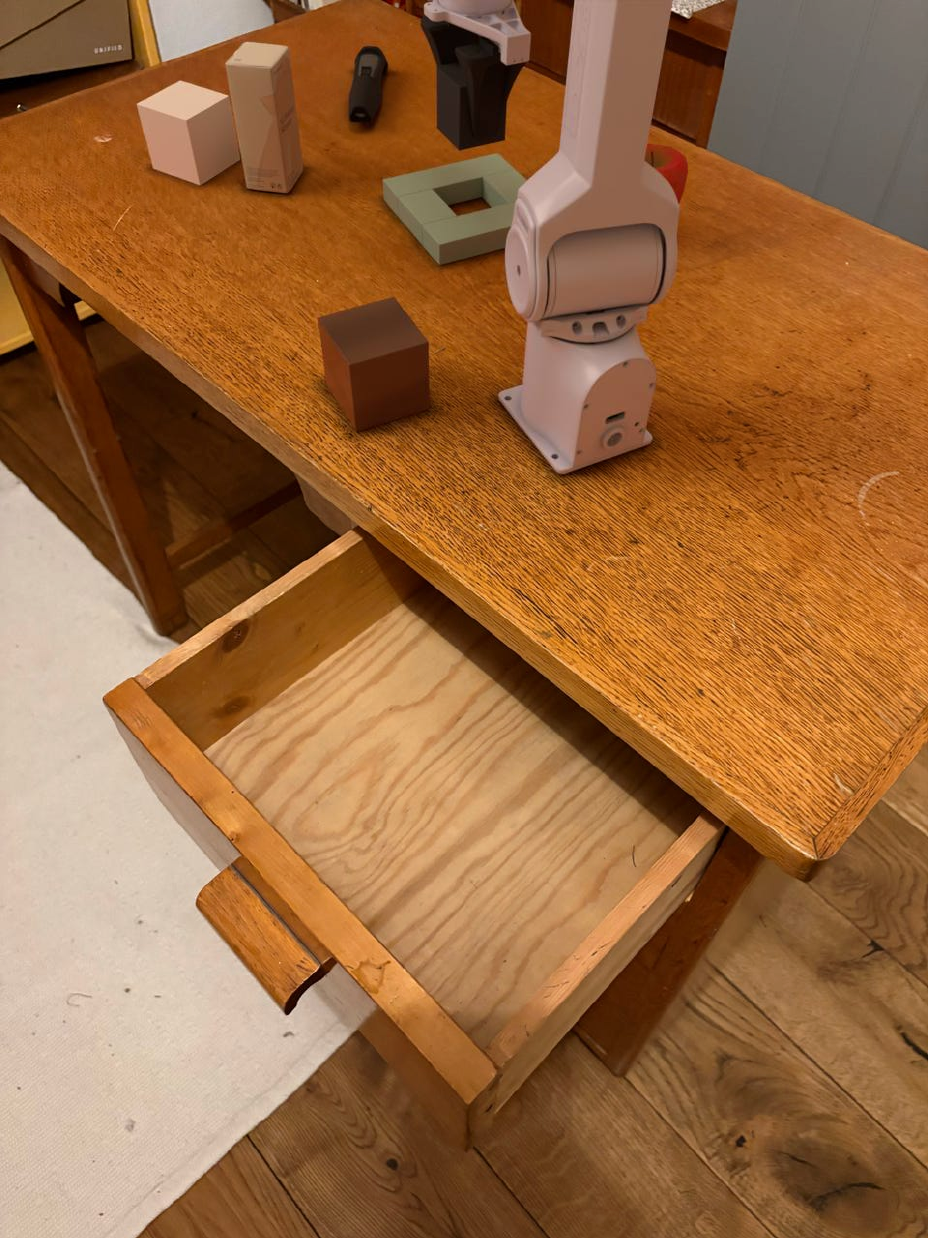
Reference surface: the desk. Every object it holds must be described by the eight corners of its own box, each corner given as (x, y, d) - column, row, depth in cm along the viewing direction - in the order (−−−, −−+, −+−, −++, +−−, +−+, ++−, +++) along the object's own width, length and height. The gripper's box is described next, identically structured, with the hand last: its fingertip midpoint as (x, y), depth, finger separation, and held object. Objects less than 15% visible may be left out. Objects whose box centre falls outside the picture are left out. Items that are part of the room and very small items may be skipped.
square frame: (559, 233, 83) (561, 212, 81) (439, 265, 79) (439, 244, 78) (496, 172, 89) (498, 152, 88) (383, 199, 86) (382, 178, 84)
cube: (430, 409, 68) (429, 341, 63) (355, 432, 66) (349, 364, 61) (397, 363, 71) (394, 295, 66) (325, 384, 69) (317, 316, 64)
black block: (505, 140, 78) (508, 77, 74) (459, 150, 76) (459, 87, 72) (481, 118, 80) (483, 56, 76) (436, 128, 79) (436, 65, 75)
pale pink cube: (240, 159, 90) (229, 95, 85) (200, 185, 87) (186, 120, 82) (193, 143, 92) (180, 79, 87) (152, 168, 89) (136, 103, 84)
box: (288, 195, 86) (270, 68, 77) (245, 189, 86) (222, 63, 78) (305, 168, 89) (289, 43, 80) (263, 163, 90) (243, 38, 81)
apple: (655, 210, 85) (671, 128, 79) (686, 245, 82) (705, 161, 76) (594, 222, 84) (605, 139, 78) (623, 257, 80) (638, 173, 74)
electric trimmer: (341, 135, 94) (338, 103, 91) (356, 68, 103) (354, 37, 100) (378, 136, 94) (376, 104, 91) (389, 69, 103) (388, 38, 100)
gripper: (386, -93, 69) (394, 96, 80) (472, -28, 62) (468, 171, 72) (468, -104, 71) (465, 82, 82) (562, -43, 64) (544, 153, 74)
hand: (471, 123), depth 77 cm, fingers closed on black block, 4 cm apart
